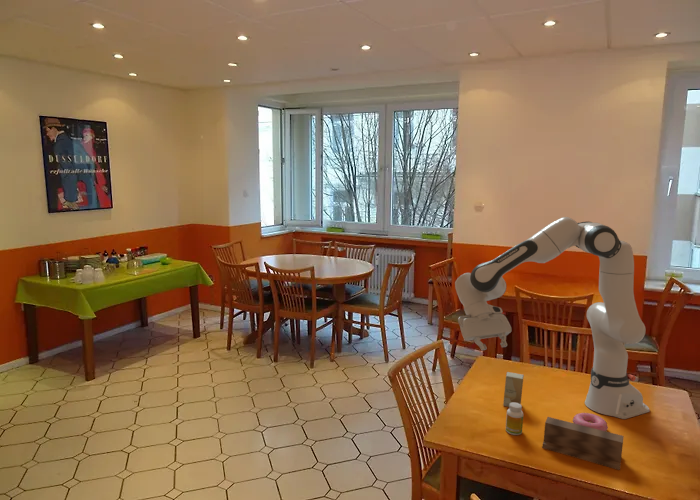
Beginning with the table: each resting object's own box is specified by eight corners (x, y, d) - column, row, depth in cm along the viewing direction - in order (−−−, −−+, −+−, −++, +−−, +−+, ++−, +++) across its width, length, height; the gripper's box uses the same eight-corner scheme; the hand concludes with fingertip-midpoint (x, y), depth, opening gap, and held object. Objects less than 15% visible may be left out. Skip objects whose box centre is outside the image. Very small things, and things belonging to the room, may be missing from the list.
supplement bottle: (523, 436, 163) (525, 409, 162) (506, 434, 164) (508, 407, 163) (520, 428, 169) (522, 402, 167) (504, 426, 170) (506, 400, 168)
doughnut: (588, 439, 162) (589, 428, 162) (565, 423, 173) (566, 412, 172) (614, 435, 165) (615, 423, 165) (590, 419, 176) (591, 408, 175)
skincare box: (503, 406, 184) (505, 375, 182) (504, 401, 188) (506, 371, 186) (520, 409, 182) (523, 378, 180) (521, 404, 186) (523, 374, 184)
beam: (542, 447, 157) (544, 424, 155) (546, 436, 164) (548, 414, 162) (619, 470, 145) (622, 445, 144) (621, 457, 152) (623, 433, 151)
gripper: (460, 312, 174) (476, 347, 166) (504, 307, 182) (521, 341, 175) (451, 320, 178) (466, 355, 171) (495, 315, 187) (511, 348, 180)
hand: (494, 348), depth 173 cm, fingers open, 8 cm apart
